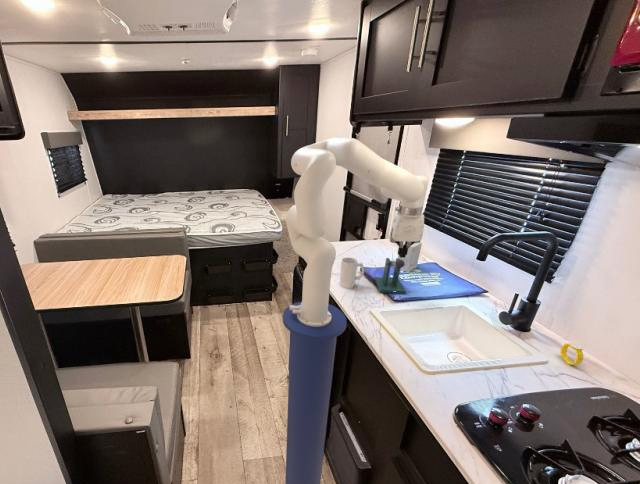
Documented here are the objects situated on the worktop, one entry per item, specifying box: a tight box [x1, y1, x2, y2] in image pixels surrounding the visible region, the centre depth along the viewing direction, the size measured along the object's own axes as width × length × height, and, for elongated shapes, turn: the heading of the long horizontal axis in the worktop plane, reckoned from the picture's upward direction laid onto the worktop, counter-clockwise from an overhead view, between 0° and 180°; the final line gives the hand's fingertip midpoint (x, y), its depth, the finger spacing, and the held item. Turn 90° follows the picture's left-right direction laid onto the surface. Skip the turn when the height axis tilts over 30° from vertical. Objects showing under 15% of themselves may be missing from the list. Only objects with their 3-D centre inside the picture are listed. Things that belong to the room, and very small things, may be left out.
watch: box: [560, 342, 584, 366], centre depth 91 cm, size 6×3×6 cm, turn 169°
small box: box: [397, 241, 423, 273], centre depth 150 cm, size 8×6×13 cm
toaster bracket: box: [373, 257, 406, 295], centre depth 134 cm, size 12×10×13 cm
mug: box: [339, 256, 365, 289], centre depth 137 cm, size 10×7×12 cm, turn 82°
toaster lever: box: [390, 260, 405, 268], centre depth 127 cm, size 12×3×3 cm, turn 169°
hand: (401, 256), depth 122 cm, fingers closed
